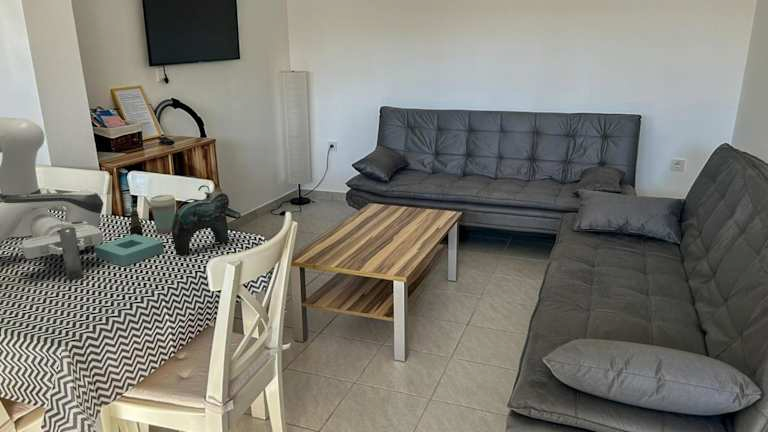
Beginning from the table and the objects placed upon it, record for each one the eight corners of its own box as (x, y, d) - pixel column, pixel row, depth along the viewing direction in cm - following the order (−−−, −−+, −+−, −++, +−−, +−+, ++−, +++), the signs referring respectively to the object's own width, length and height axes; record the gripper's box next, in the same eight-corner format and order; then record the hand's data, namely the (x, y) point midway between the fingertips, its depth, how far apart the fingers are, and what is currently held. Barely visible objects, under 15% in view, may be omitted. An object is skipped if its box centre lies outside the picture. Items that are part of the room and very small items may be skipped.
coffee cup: (175, 225, 208) (171, 193, 204) (182, 232, 201) (178, 198, 197) (150, 229, 203) (146, 196, 199) (156, 236, 196) (152, 202, 193)
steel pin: (64, 277, 163) (55, 230, 159) (77, 273, 166) (70, 226, 162) (72, 280, 161) (64, 232, 157) (85, 275, 164) (78, 228, 160)
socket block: (95, 257, 178) (94, 246, 177) (136, 244, 189) (134, 233, 188) (124, 266, 171) (122, 255, 170) (164, 252, 182) (163, 241, 181)
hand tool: (143, 236, 197) (141, 222, 196) (130, 237, 196) (128, 224, 195) (143, 220, 214) (142, 208, 213) (131, 221, 213) (130, 209, 212)
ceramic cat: (224, 237, 196) (219, 179, 190) (236, 241, 192) (231, 182, 186) (171, 253, 181) (164, 191, 175) (182, 258, 177) (176, 195, 171)
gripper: (14, 234, 162) (26, 247, 153) (91, 219, 176) (107, 230, 166) (18, 255, 164) (30, 269, 154) (94, 239, 177) (110, 251, 168)
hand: (71, 249), depth 160 cm, fingers closed on steel pin, 4 cm apart
